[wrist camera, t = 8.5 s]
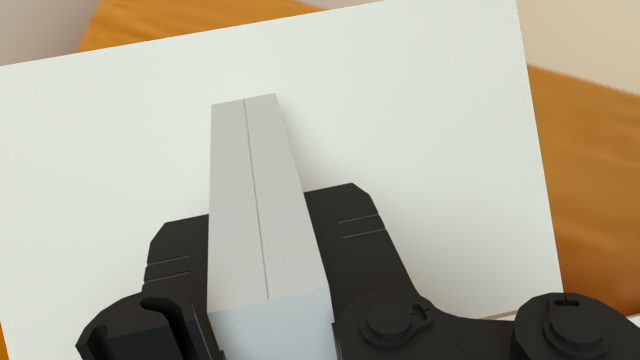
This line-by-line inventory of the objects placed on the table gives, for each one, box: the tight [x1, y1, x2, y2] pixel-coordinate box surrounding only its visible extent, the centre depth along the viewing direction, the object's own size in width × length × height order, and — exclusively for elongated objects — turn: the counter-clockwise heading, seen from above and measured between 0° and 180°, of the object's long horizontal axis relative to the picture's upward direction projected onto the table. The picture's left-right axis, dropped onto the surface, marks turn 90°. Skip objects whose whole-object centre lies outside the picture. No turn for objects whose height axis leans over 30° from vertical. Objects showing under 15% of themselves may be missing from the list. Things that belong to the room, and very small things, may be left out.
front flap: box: [0, 0, 563, 360], centre depth 13 cm, size 15×1×9 cm
